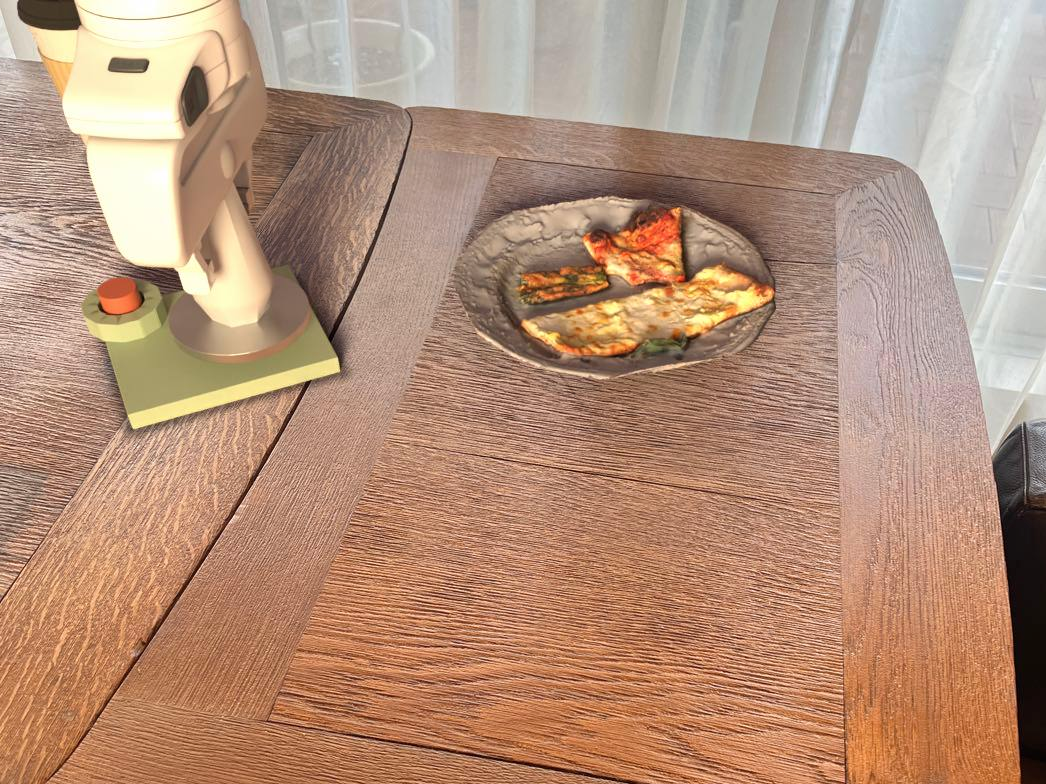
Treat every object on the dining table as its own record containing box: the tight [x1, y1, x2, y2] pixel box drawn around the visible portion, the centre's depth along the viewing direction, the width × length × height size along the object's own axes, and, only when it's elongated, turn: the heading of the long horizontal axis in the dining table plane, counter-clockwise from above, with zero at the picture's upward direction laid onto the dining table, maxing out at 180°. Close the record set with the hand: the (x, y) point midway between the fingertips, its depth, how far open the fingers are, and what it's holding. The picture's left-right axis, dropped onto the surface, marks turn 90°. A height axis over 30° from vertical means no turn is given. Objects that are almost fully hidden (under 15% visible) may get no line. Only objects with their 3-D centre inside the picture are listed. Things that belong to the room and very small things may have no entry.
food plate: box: [453, 195, 777, 381], centre depth 80 cm, size 25×23×4 cm
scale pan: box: [168, 274, 311, 364], centre depth 75 cm, size 10×10×1 cm
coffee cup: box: [16, 0, 89, 149], centre depth 91 cm, size 10×10×15 cm
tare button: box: [96, 276, 142, 316], centre depth 76 cm, size 3×3×2 cm
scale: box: [80, 264, 341, 430], centre depth 77 cm, size 16×14×3 cm
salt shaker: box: [192, 141, 275, 328], centre depth 70 cm, size 6×6×13 cm
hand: (222, 248), depth 70 cm, fingers open, 8 cm apart
